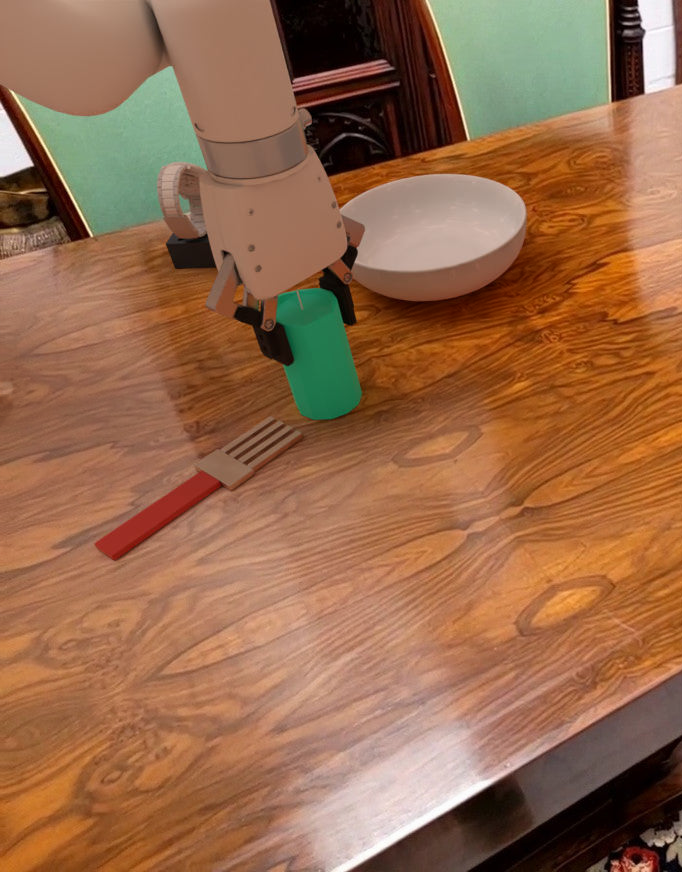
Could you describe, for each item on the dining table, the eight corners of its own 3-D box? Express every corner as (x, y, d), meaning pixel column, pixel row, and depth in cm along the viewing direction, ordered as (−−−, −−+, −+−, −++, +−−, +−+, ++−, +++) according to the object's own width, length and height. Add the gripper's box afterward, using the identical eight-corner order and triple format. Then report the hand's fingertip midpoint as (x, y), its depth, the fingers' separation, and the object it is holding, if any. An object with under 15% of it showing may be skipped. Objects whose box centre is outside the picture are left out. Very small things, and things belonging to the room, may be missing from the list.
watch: (239, 239, 110) (210, 150, 103) (219, 275, 104) (187, 183, 97) (191, 240, 110) (159, 151, 103) (169, 276, 104) (132, 185, 97)
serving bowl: (322, 254, 107) (307, 199, 103) (493, 212, 114) (487, 159, 110) (370, 348, 93) (355, 289, 89) (562, 293, 100) (557, 236, 96)
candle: (284, 415, 86) (245, 304, 78) (316, 376, 90) (283, 267, 82) (343, 424, 84) (311, 313, 77) (373, 384, 89) (345, 275, 81)
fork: (123, 567, 72) (120, 562, 72) (87, 542, 74) (84, 537, 74) (305, 438, 83) (304, 433, 83) (270, 419, 85) (268, 414, 85)
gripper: (310, 98, 78) (356, 283, 90) (122, 177, 67) (202, 375, 79) (373, 117, 75) (412, 306, 86) (187, 204, 64) (260, 406, 76)
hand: (311, 338), depth 83 cm, fingers open, 6 cm apart
